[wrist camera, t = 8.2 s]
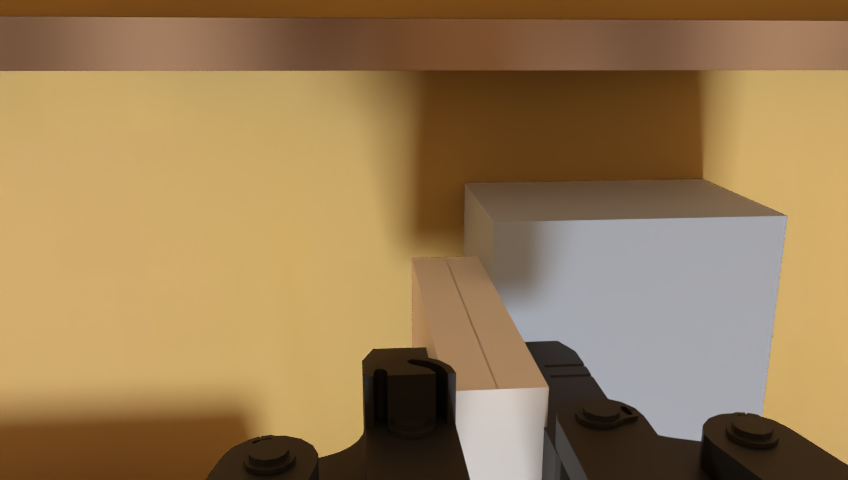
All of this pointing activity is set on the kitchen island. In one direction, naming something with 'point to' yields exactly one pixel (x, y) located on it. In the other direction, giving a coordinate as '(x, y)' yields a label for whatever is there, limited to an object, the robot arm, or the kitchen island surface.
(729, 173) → the kitchen island surface
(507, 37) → the trap lane
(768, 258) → the gray block
